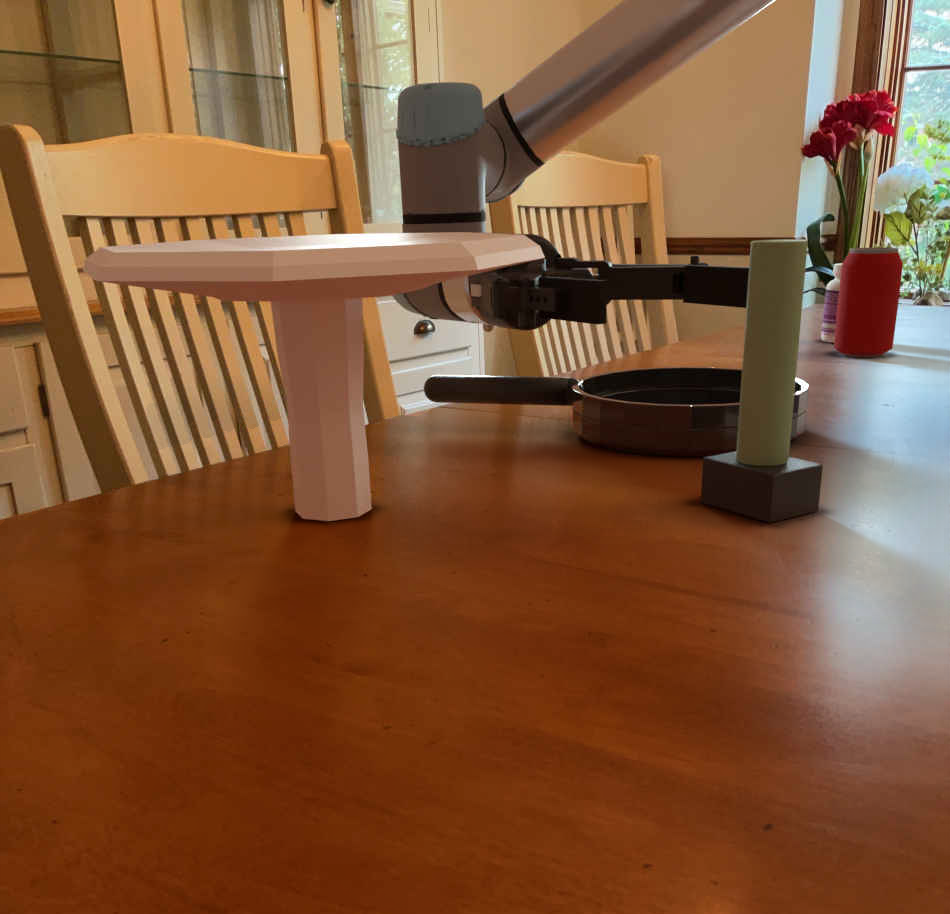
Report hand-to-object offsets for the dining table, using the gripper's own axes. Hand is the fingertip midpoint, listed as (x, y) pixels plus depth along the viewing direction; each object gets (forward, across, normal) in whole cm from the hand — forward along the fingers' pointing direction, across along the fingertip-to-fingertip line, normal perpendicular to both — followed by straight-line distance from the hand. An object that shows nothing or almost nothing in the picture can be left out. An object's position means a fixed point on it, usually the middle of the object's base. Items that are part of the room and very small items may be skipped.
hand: (680, 294), depth 71 cm
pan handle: (-21, 0, -10) cm, 24 cm away
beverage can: (-29, -57, -12) cm, 65 cm away
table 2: (-6, +24, -12) cm, 28 cm away
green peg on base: (+10, +2, -12) cm, 16 cm away
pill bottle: (-38, -64, -12) cm, 76 cm away
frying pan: (-9, -10, -12) cm, 18 cm away
